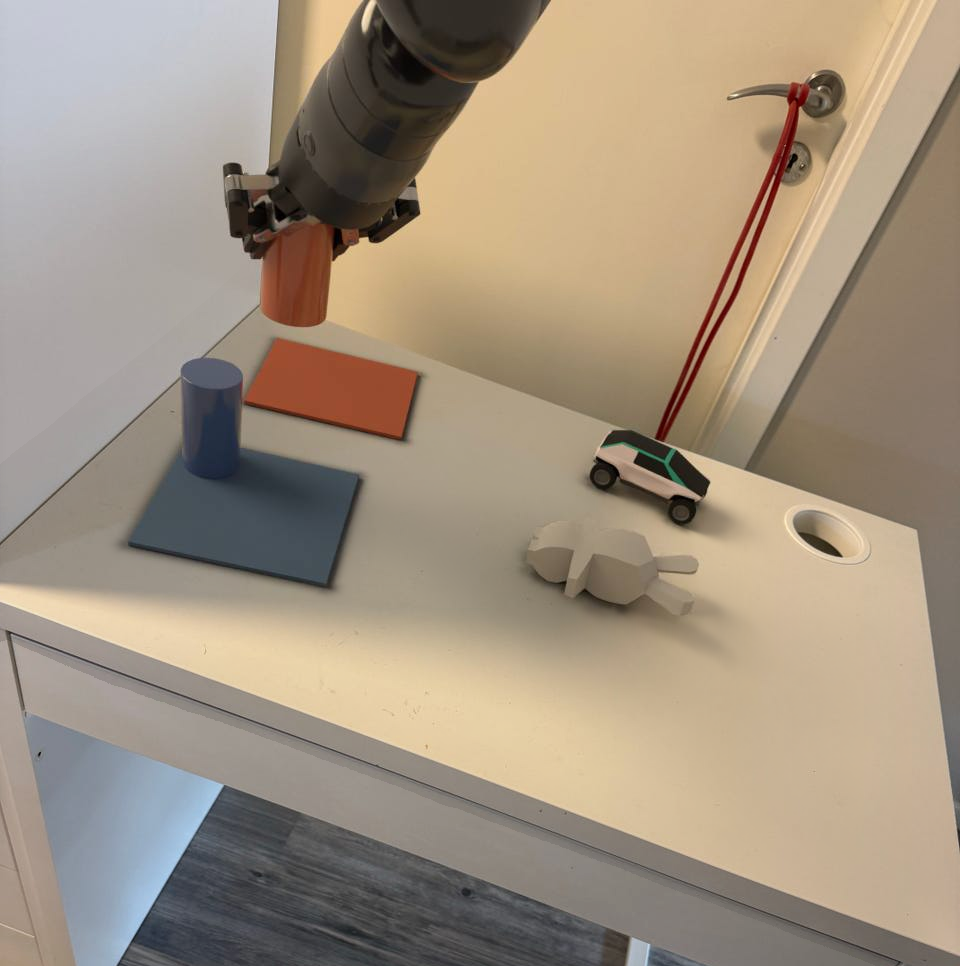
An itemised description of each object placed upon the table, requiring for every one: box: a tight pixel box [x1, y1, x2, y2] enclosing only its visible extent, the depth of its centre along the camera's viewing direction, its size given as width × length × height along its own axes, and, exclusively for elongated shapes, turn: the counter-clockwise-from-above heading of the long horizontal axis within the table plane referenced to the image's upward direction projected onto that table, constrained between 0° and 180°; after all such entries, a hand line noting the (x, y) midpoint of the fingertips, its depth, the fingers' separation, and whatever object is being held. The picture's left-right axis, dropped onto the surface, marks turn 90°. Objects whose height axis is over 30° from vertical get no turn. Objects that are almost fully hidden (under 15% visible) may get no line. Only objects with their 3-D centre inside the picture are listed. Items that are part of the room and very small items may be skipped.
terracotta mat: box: [243, 337, 419, 441], centre depth 93 cm, size 16×14×1 cm
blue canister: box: [180, 357, 244, 479], centre depth 76 cm, size 5×5×9 cm
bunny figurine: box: [525, 518, 700, 617], centre depth 78 cm, size 10×5×15 cm
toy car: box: [589, 429, 711, 526], centre depth 91 cm, size 6×12×5 cm, turn 65°
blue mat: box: [127, 447, 360, 588], centre depth 76 cm, size 16×16×1 cm
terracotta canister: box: [259, 213, 335, 328], centre depth 67 cm, size 5×5×10 cm
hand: (290, 247), depth 68 cm, fingers closed on terracotta canister, 5 cm apart
